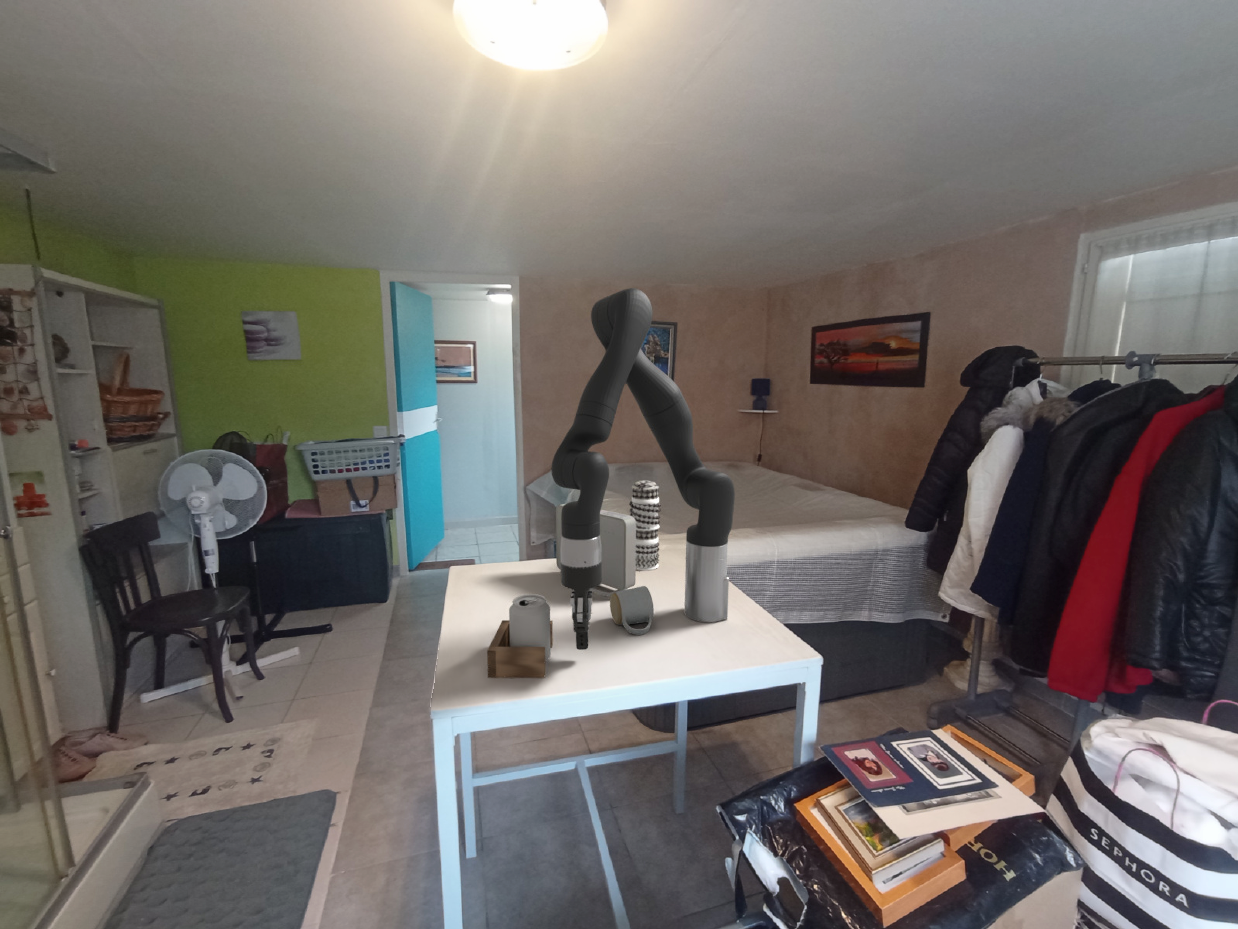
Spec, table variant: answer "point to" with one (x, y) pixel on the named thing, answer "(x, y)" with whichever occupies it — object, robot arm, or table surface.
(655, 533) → the decorative candle
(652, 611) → the ceramic mug
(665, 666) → the table surface
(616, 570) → the network device
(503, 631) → the dock
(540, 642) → the can
